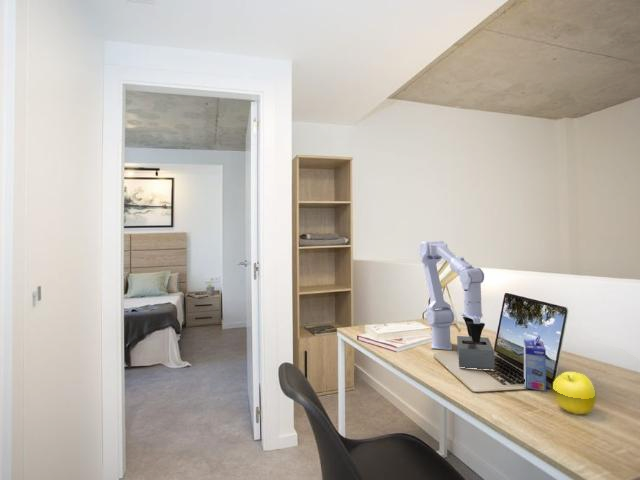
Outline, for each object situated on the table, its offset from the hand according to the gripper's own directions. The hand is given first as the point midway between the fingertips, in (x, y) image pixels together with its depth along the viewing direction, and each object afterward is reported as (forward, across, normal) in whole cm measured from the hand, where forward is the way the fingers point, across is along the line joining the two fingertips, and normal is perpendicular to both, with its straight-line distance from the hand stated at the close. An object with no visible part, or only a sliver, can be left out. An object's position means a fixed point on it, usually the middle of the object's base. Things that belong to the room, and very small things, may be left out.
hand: (474, 339), depth 125 cm
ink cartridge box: (+8, +18, +14) cm, 24 cm away
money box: (+8, 0, 0) cm, 8 cm away
